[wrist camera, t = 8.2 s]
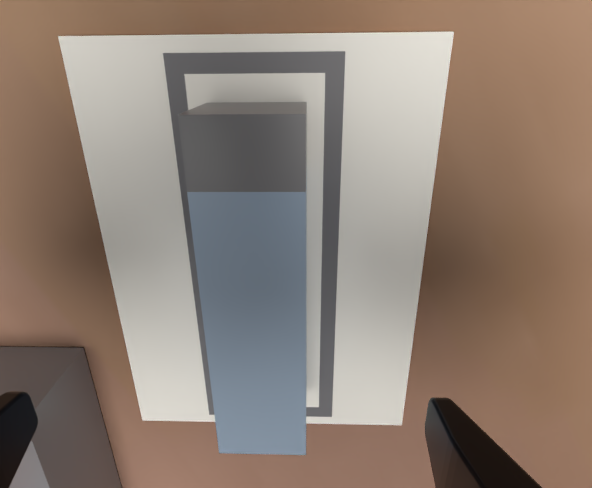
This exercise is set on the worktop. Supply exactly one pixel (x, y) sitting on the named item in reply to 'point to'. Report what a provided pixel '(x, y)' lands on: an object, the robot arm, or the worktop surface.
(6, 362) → the button housing
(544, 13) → the worktop surface
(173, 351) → the paper sheet
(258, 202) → the rectangular block
